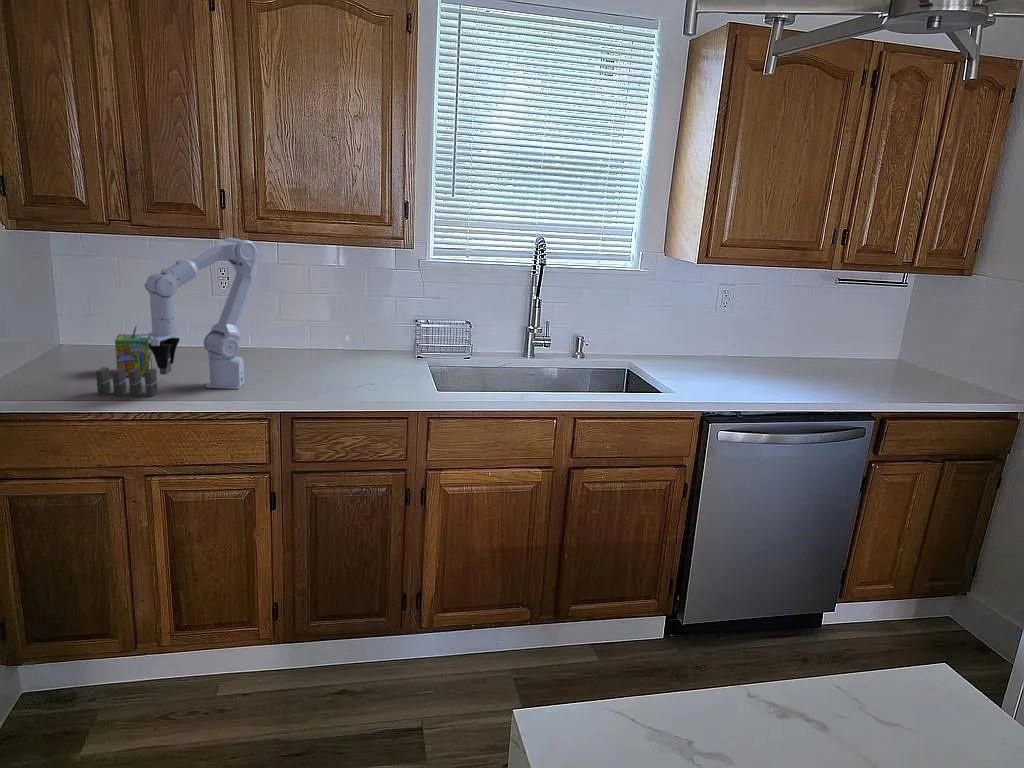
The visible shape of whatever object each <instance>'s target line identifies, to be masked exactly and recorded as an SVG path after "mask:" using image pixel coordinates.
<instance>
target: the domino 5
mask: <svg viewBox="0 0 1024 768" xmlns="http://www.w3.org/2000/svg"><path fill="white" fill-rule="evenodd" d="M170 372H172V364H171V354H170V351H169V355H168V365H167V368H159V374H160V375H168V374H169V373H170Z"/></svg>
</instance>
